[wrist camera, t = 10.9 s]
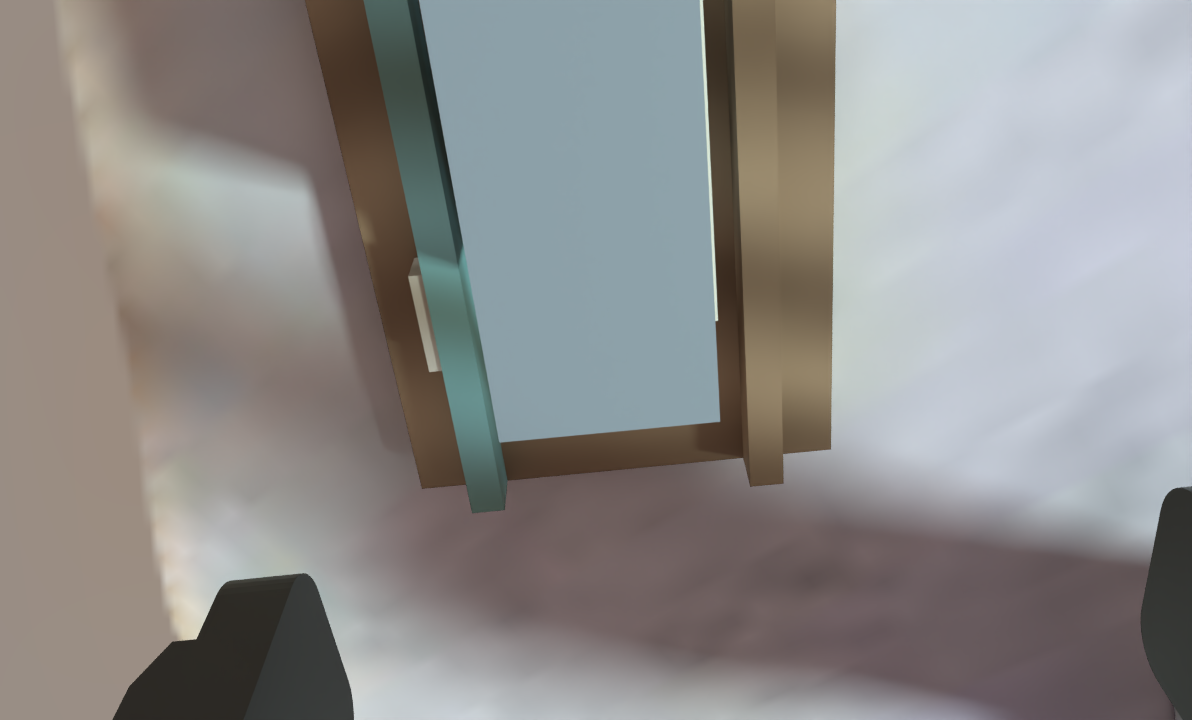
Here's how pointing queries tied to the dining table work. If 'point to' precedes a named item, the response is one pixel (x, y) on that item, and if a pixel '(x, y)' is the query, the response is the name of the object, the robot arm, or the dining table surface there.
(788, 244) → the brown flat frame
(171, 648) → the robot arm
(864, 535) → the dining table surface
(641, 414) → the carton
